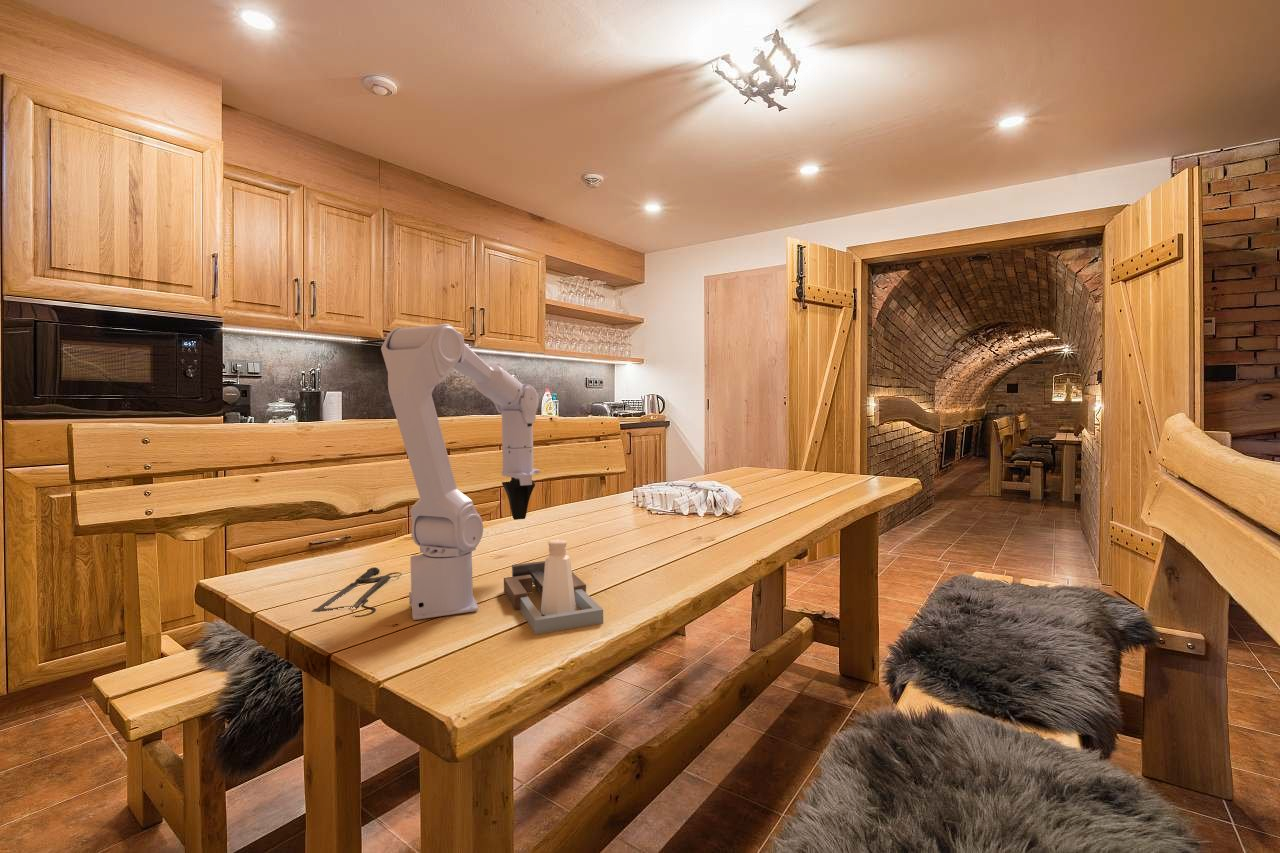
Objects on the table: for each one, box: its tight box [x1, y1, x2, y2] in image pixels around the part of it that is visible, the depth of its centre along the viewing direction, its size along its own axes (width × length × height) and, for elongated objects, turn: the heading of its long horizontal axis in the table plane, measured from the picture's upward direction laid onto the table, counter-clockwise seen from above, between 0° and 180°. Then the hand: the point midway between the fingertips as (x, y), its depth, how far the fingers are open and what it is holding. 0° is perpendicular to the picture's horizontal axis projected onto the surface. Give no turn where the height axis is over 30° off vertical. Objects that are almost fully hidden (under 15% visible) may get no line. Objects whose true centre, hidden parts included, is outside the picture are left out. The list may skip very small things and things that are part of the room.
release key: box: [511, 560, 545, 595], centre depth 95 cm, size 8×14×3 cm, turn 23°
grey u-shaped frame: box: [519, 589, 604, 635], centre depth 86 cm, size 10×10×2 cm
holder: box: [503, 571, 587, 611], centre depth 95 cm, size 12×10×2 cm
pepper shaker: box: [540, 538, 577, 616], centre depth 88 cm, size 5×5×11 cm
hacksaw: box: [311, 567, 402, 618], centre depth 99 cm, size 24×10×2 cm, turn 2°
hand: (519, 518), depth 109 cm, fingers closed
